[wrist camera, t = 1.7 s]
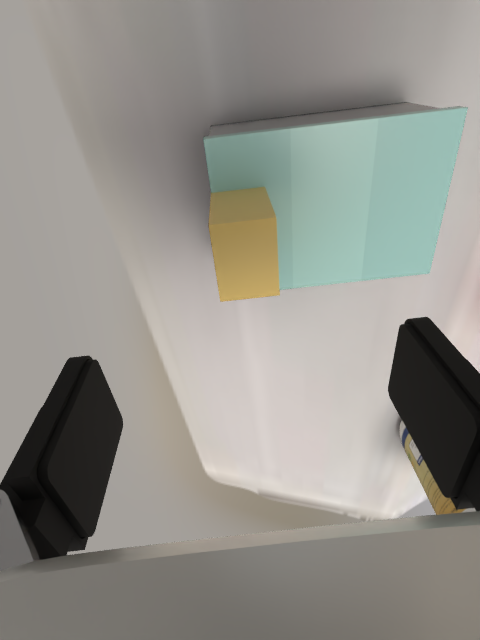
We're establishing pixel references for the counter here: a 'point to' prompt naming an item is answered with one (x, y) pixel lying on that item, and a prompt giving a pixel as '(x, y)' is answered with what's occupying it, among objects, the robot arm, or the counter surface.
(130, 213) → the counter surface
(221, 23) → the counter surface
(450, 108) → the lid
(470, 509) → the supplement tub
